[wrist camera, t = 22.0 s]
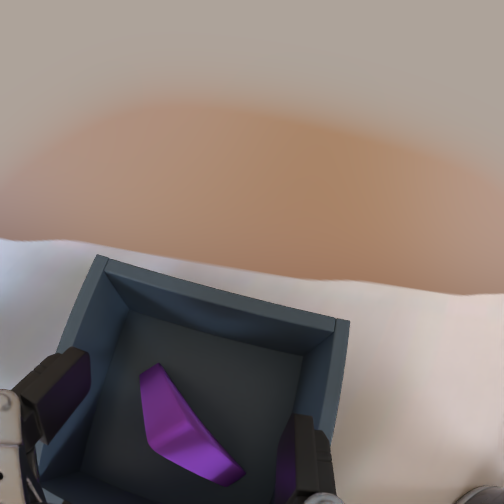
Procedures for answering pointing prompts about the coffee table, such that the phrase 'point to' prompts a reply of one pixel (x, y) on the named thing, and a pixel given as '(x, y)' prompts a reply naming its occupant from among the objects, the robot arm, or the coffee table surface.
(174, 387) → the arrowhead
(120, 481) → the bin
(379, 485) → the coffee table surface
